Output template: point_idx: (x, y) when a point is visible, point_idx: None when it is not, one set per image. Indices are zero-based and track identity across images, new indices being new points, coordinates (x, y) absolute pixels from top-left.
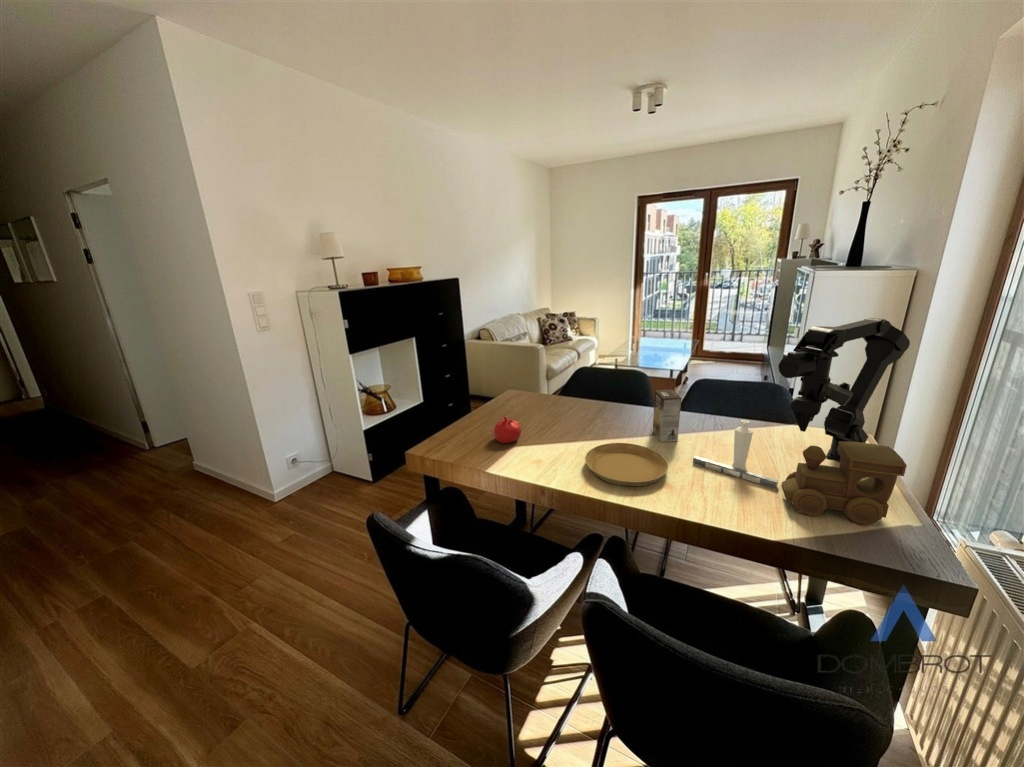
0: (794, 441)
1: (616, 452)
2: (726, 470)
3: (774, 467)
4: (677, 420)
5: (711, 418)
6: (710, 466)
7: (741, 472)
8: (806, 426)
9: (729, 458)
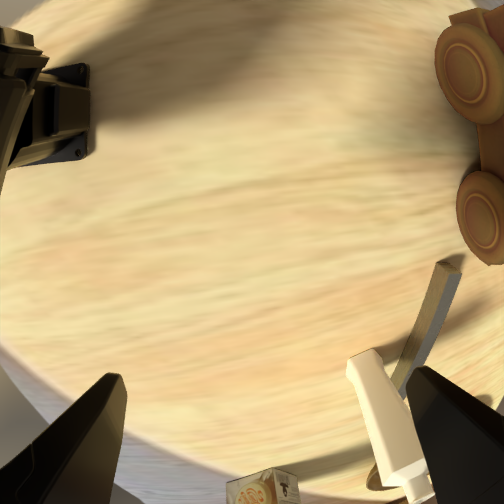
0: (30, 279)
1: (379, 475)
2: None
3: (310, 298)
4: None
5: None
6: None
7: (427, 353)
8: (466, 395)
9: (311, 395)
